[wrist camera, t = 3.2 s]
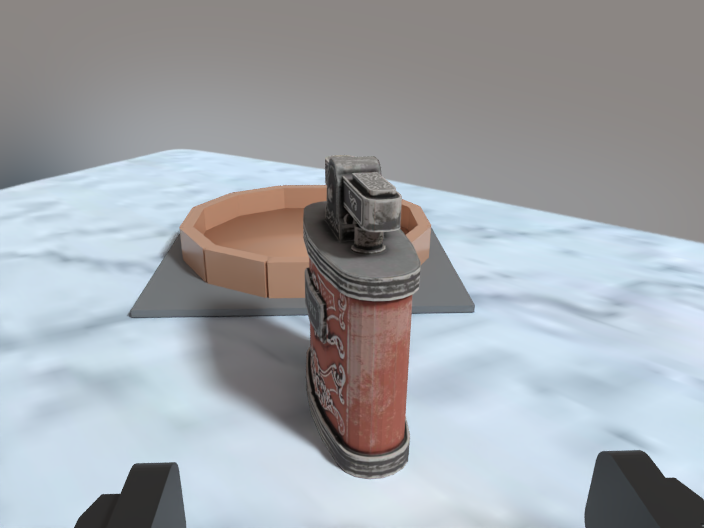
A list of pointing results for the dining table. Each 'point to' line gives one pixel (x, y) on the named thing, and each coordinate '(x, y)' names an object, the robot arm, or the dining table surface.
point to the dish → (267, 239)
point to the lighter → (359, 317)
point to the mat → (210, 300)
